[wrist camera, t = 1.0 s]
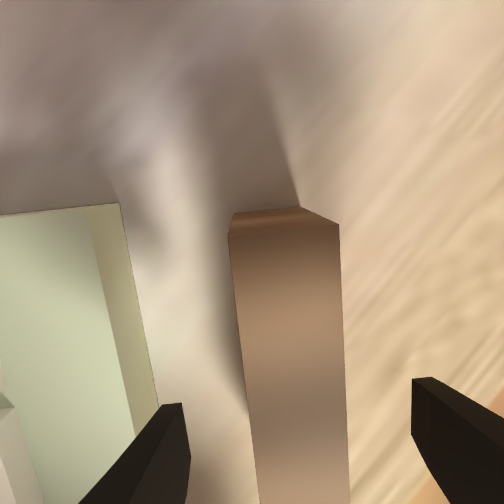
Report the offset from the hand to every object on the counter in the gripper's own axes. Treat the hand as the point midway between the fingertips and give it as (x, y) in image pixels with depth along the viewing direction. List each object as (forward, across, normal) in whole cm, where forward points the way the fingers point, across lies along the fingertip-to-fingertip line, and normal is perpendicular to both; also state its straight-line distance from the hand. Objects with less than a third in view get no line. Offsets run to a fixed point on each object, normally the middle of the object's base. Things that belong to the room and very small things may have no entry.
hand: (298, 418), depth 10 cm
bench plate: (+6, +12, 0) cm, 13 cm away
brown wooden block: (+6, 0, 0) cm, 6 cm away
